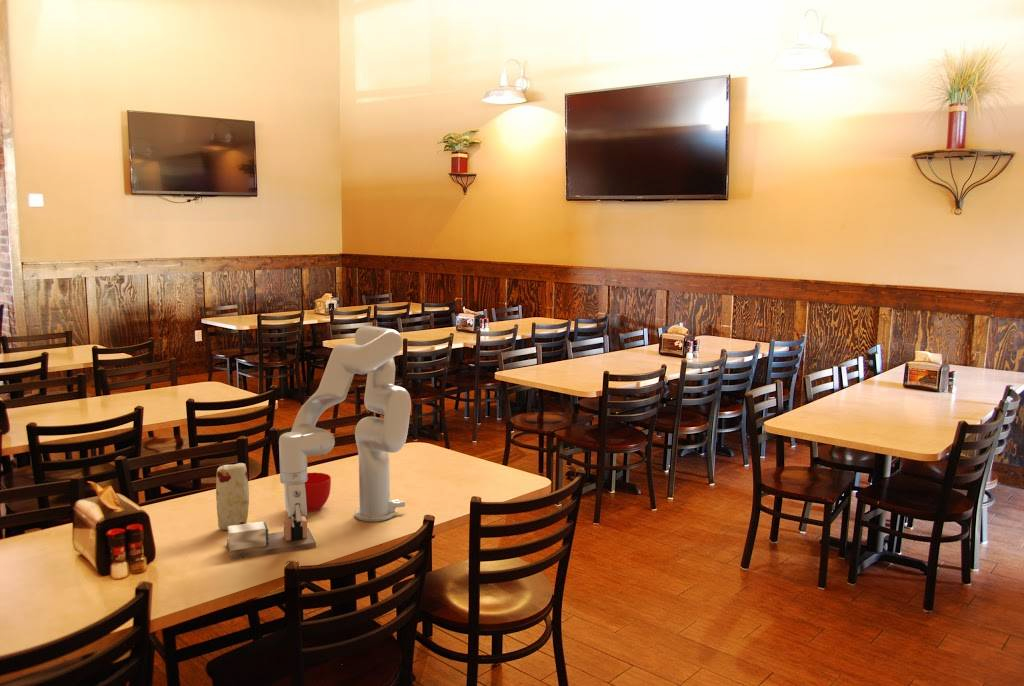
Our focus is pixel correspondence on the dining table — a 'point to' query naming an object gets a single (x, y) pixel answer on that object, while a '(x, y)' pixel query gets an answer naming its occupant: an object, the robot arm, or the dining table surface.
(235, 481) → the food model
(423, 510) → the dining table surface
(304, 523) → the stub
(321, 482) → the ceramic cup
